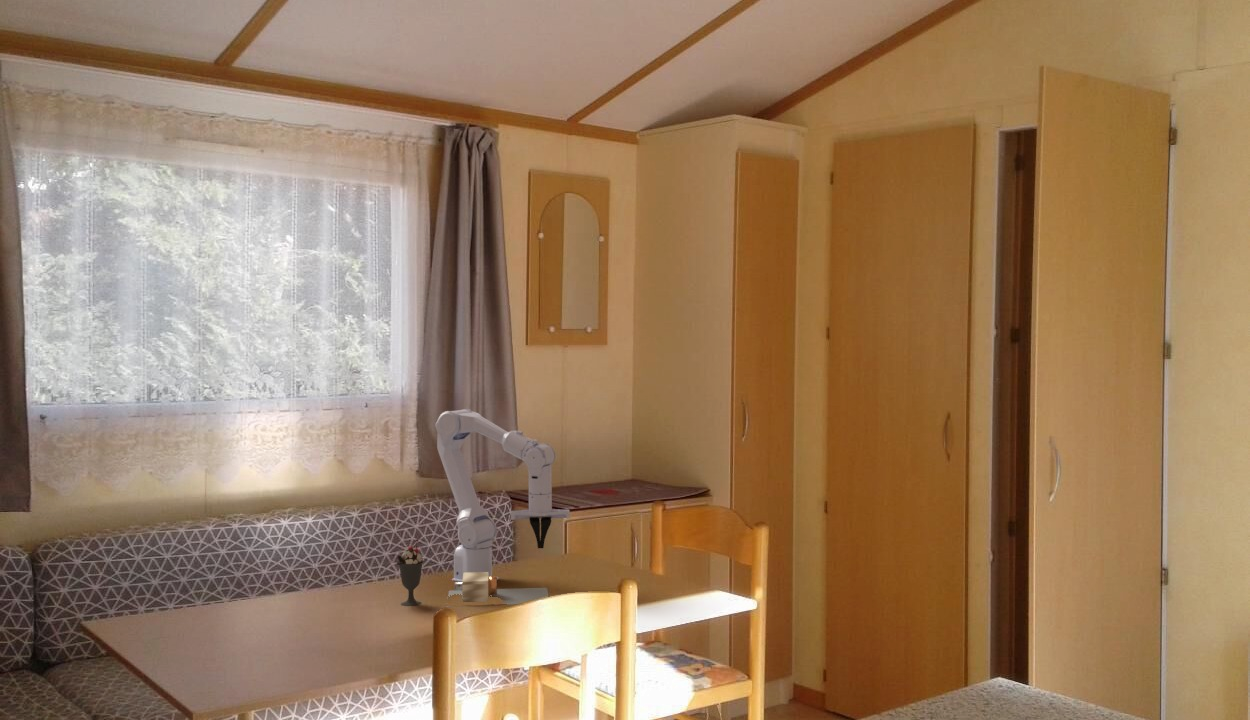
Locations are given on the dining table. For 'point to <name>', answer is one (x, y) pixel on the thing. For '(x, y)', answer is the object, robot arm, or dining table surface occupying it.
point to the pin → (491, 585)
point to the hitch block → (475, 587)
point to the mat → (514, 594)
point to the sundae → (410, 572)
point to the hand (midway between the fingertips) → (540, 547)
